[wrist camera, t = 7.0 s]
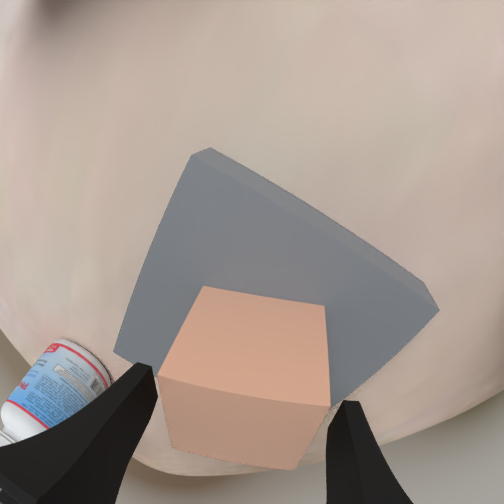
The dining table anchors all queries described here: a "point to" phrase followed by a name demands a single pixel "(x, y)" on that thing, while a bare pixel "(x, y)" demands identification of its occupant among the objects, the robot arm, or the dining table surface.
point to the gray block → (270, 271)
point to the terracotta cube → (247, 379)
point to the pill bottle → (52, 391)
